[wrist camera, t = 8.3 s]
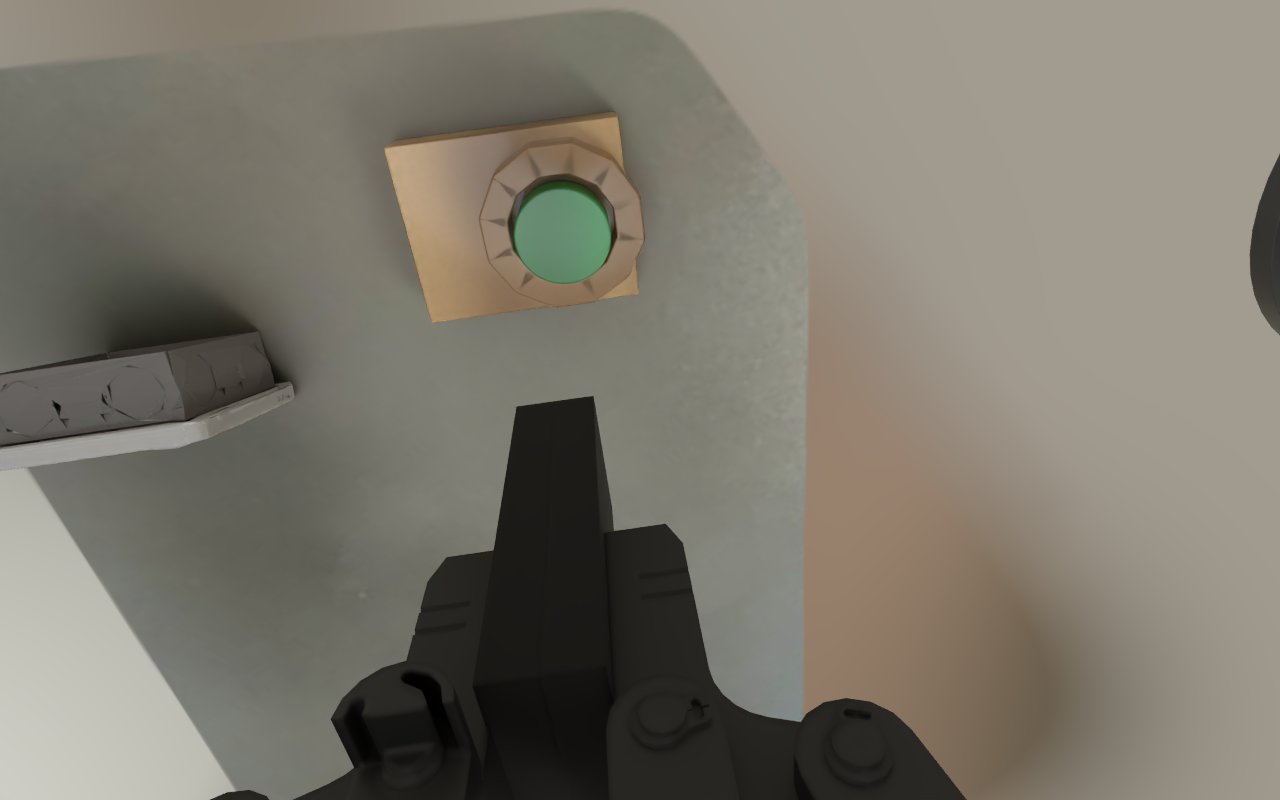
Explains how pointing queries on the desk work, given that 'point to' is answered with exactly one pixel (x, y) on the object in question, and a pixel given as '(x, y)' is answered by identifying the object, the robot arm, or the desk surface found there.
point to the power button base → (509, 211)
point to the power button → (562, 232)
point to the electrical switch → (134, 400)
